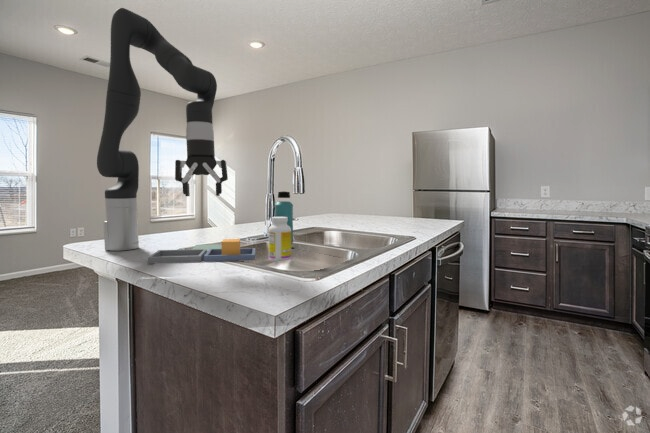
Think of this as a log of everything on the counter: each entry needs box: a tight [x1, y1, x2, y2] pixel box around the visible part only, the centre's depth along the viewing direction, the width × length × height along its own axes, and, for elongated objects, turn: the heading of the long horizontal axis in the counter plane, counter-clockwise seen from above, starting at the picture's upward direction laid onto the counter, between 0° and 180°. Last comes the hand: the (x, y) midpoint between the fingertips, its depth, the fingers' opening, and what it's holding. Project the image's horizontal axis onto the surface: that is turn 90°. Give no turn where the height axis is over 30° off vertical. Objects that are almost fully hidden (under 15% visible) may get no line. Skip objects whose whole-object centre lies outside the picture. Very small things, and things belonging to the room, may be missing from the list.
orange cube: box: [220, 238, 241, 255], centre depth 105 cm, size 5×5×5 cm
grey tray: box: [146, 248, 207, 266], centre depth 103 cm, size 14×11×2 cm
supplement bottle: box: [268, 216, 292, 262], centre depth 103 cm, size 7×7×13 cm
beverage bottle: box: [273, 191, 294, 247], centre depth 119 cm, size 6×7×20 cm
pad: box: [192, 243, 222, 252], centre depth 117 cm, size 12×12×1 cm
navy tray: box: [203, 247, 256, 262], centre depth 105 cm, size 14×11×2 cm
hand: (202, 196), depth 101 cm, fingers open, 8 cm apart
